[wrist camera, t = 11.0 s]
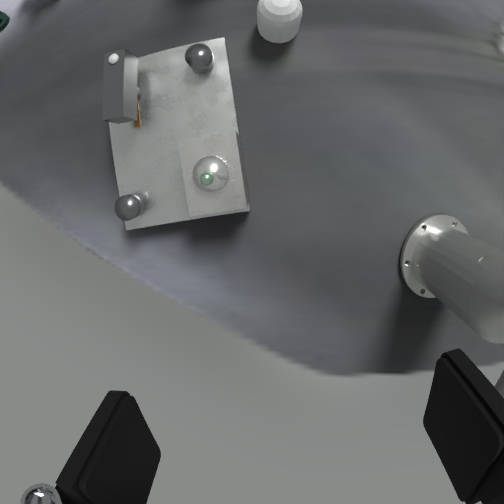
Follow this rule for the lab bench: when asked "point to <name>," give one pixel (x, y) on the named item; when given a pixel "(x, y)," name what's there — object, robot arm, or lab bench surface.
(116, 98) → the block
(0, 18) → the mount
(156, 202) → the levelling base
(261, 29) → the capsule
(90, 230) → the lab bench surface
